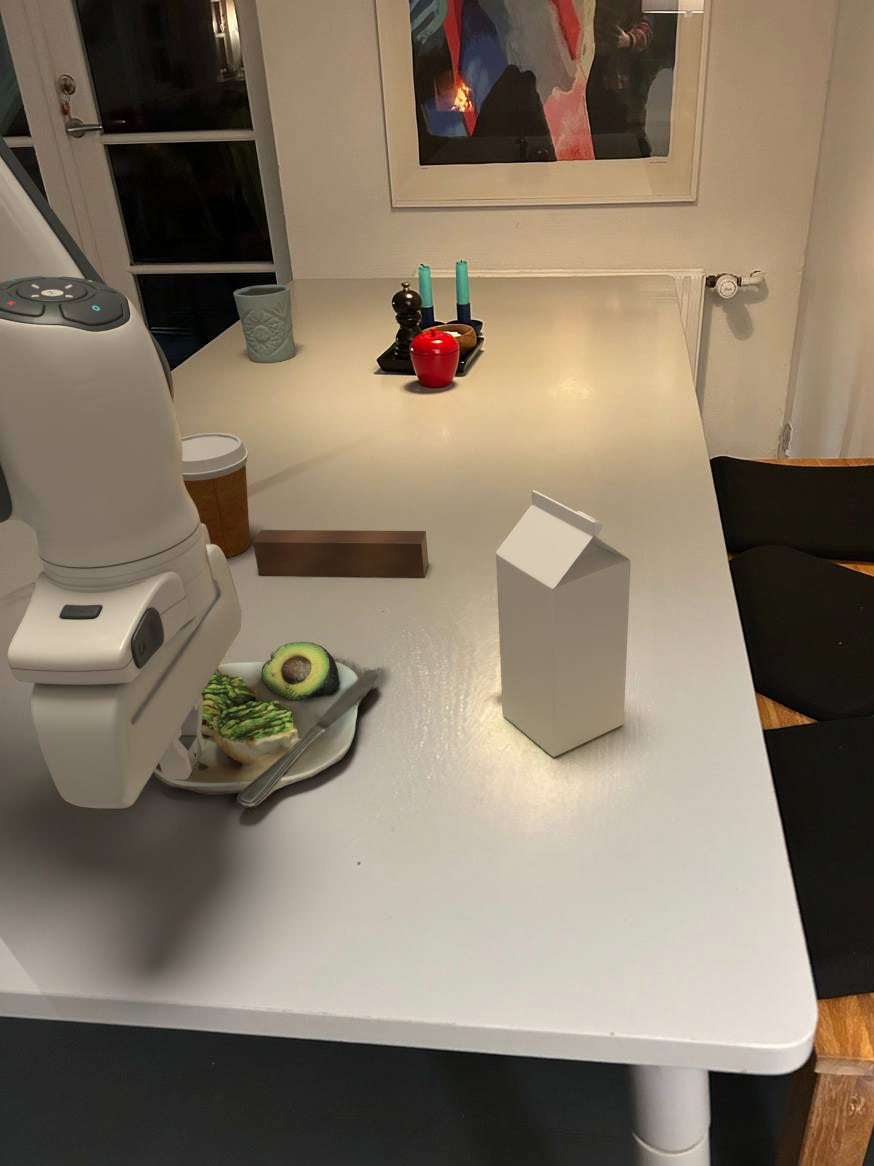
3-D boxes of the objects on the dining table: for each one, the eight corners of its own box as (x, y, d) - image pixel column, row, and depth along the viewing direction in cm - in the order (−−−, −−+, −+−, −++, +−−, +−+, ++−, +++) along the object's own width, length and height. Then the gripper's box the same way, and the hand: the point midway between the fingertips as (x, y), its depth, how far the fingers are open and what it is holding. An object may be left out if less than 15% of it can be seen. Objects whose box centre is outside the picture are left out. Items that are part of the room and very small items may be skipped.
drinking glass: (262, 367, 171) (251, 298, 165) (234, 357, 178) (222, 291, 171) (309, 355, 177) (300, 287, 171) (280, 346, 183) (270, 281, 177)
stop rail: (258, 575, 101) (252, 541, 99) (267, 562, 104) (261, 529, 102) (424, 577, 99) (421, 543, 97) (428, 564, 102) (425, 530, 100)
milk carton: (554, 759, 73) (552, 536, 63) (501, 715, 78) (492, 502, 68) (624, 726, 76) (633, 508, 66) (569, 686, 81) (570, 478, 71)
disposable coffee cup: (193, 530, 112) (171, 432, 106) (272, 528, 112) (255, 430, 105) (168, 567, 104) (142, 464, 98) (253, 565, 104) (233, 461, 97)
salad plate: (362, 820, 68) (355, 770, 66) (116, 829, 68) (100, 779, 66) (384, 670, 85) (379, 626, 82) (186, 678, 85) (175, 634, 82)
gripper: (152, 505, 64) (196, 675, 71) (-14, 674, 46) (67, 877, 54) (242, 504, 63) (277, 676, 70) (108, 676, 46) (173, 881, 53)
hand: (185, 765), depth 62 cm, fingers closed
